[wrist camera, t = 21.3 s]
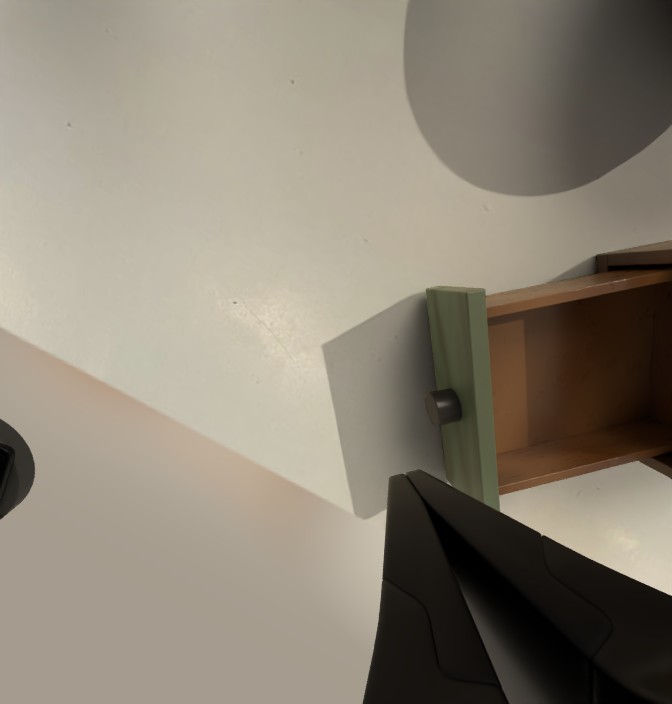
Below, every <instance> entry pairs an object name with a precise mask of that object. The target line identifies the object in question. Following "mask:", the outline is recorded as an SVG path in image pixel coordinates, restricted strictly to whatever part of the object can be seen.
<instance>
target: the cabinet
mask: <svg viewBox="0 0 672 704" xmlns="http://www.w3.org/2000/svg"><path fill="white" fill-rule="evenodd" d="M663 264H672V240H670V241H665V242H660V243H655V244H649V245H644V246H639V247H634V248H629V249H624V250H618V251H613V252H608V253H603V254H598V255H597V272H596V274H598V273H603V272H608V271H613V270H618V269H623V268H628V267H633V266H638V265H663ZM638 461H640V462H641V463H643V464H645V465H647V466H649V467H651V468H653V469H655V470H656V471H658V472H660V473H662V474H664V475H666V476H668V477H670V478H671V479H672V452H669V453H665V454H662V455H658V456H654V457H650V458H646V459H642V460H638Z"/></svg>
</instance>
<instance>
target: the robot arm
mask: <svg viewBox="0 0 672 704" xmlns="http://www.w3.org/2000/svg"><path fill="white" fill-rule="evenodd" d="M1 452H2V453H4V454H5V456H4V455H2V453H1ZM14 457H15V450H14V449H13V448H12V447H10V446H8V445H5V444H2V443H0V502H1V498H2V495H3V492H4V489H5V486H6V483H7V479H8V476H9V473H10V470H11V467H12V464H13V461H14ZM382 579H383V581H382V590H381V602H380V612H379V622H378V627H377V634H376V639H375V645H374V651H373V656H372V661H371V666H370V670H369V675H368V681H367V685H366V690H365V695H364V699H363V704H672V596H671V595H668V594H666V593H664V592H662V591H659V590H657V589H655V588H653V587H650V586H648V585H646V584H644V583H641V582H639V581H637V580H635V579H632V578H630V577H628V576H626V575H623V574H621V573H619V572H617V571H615V570H613V569H610V568H608V567H606V566H604V565H602V564H600V563H598V562H595V561H593V560H591V559H589V558H587V557H585V556H583V555H581V554H579V553H577V552H575V551H573V550H571V549H569V548H567V547H565V546H563V545H561V544H560V543H558V542H556V541H554V540H552V539H550V538H548V537H546V536H544V535H543V536H542V537H541V534H540V533H539V532H537V531H535V530H533V529H531V528H529V527H527V526H525V525H524V524H522V523H520V522H518V521H516V520H514V519H512V518H510V517H509V516H507V515H505V514H503V513H501V512H499V511H497V510H495V509H494V508H492V507H490V506H488V505H486V504H484V503H482V502H480V501H478V500H477V499H475V498H473V497H471V496H469V495H467V494H465V493H463V492H462V491H460V490H458V489H456V488H454V487H452V486H450V485H448V484H447V483H445V482H443V481H441V480H439V479H437V478H435V477H433V476H431V475H430V474H428V473H426V472H424V471H422V470H414V471H411V472H407V473H406V474H405V475H404V474H399V475H395V476H391V477H390V478H389V486H388V502H387V517H386V532H385V549H384V563H383V578H382Z"/></svg>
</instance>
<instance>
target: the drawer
mask: <svg viewBox="0 0 672 704" xmlns="http://www.w3.org/2000/svg"><path fill="white" fill-rule="evenodd" d="M426 296H427V306H428V315H429V324H430V333H431V342H432V351H433V360H434V369H435V378H436V388H437V391H433V392H429V393H427V394H426V397H425V404H426V409H427V413H428V415H429V418H430V420H431V421H432V423H433V424H434V425H435V426H440V425H441V433H442V442H443V451H444V460H445V470H446V478H447V479H448V481H449V482H450V483H451V485H452V486H453V487H454V488H456V489H458V490H460V491H462V492H463V493H465V494H467V495H469V496H471V497H473V498H475V499H477V500H478V501H480V502H482V503H484V504H486V505H488V506H490V507H492V508H494V509H495V510H497V511H499V512H500V505H499V495H503V494H507V493H511V492H515V491H519V490H523V489H527V488H531V487H534V486H538V485H542V484H546V483H550V482H554V481H558V480H562V479H566V478H570V477H574V476H578V475H582V474H586V473H590V472H594V471H598V470H602V469H606V468H610V467H614V466H618V465H622V464H626V463H630V462H634V461H638V460H642V459H646V458H650V457H654V456H658V455H662V454H665V453H669V452H672V264H663V265H638V266H633V267H628V268H623V269H618V270H613V271H608V272H603V273H598V274H593V275H588V276H583V277H578V278H573V279H568V280H563V281H557V282H552V283H547V284H542V285H537V286H532V287H527V288H522V289H517V290H512V291H507V292H502V293H497V294H492V295H487V296H486V294H485V289H481V288H465V287H449V286H437V287H431V288H427V289H426Z"/></svg>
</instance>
